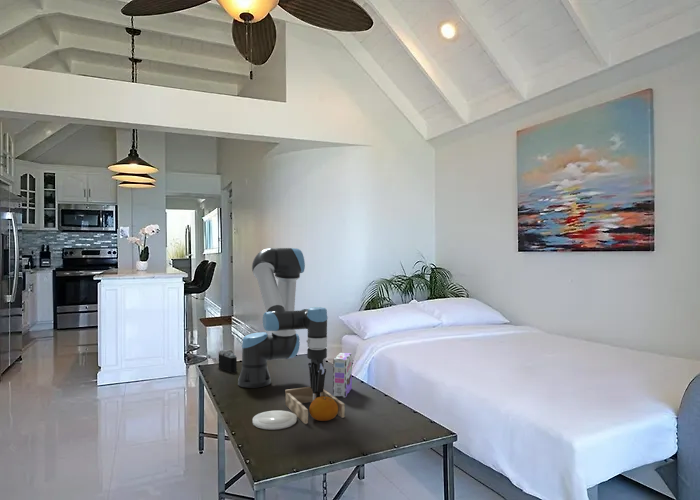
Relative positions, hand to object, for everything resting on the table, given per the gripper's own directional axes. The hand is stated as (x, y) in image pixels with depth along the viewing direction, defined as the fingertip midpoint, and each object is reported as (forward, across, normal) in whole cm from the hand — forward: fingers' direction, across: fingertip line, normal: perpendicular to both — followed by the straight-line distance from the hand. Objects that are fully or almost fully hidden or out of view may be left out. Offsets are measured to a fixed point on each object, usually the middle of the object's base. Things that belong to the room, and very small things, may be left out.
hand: (316, 409), depth 177 cm
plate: (+2, +1, -17) cm, 17 cm away
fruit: (+2, +7, 0) cm, 7 cm away
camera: (+2, -82, -17) cm, 84 cm away
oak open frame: (+2, -3, 0) cm, 4 cm away
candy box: (+2, -20, +20) cm, 28 cm away
